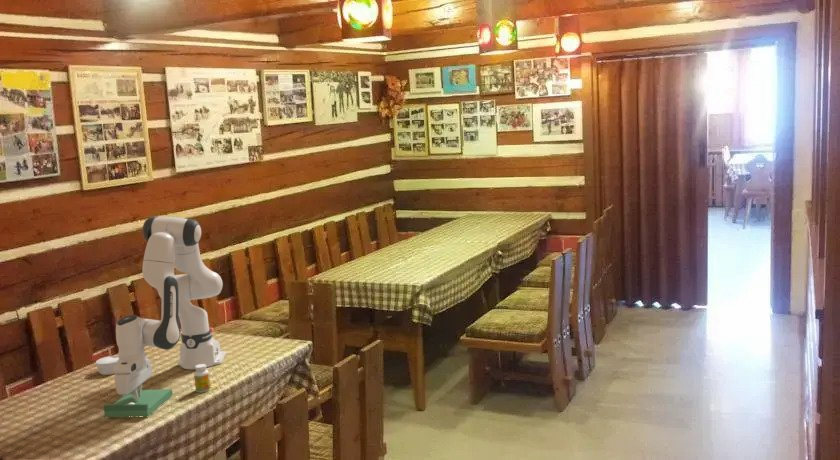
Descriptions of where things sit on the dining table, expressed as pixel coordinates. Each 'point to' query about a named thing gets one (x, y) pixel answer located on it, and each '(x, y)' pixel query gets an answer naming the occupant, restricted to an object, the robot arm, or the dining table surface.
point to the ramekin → (107, 364)
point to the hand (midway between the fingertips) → (137, 397)
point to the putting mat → (138, 404)
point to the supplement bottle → (201, 378)
